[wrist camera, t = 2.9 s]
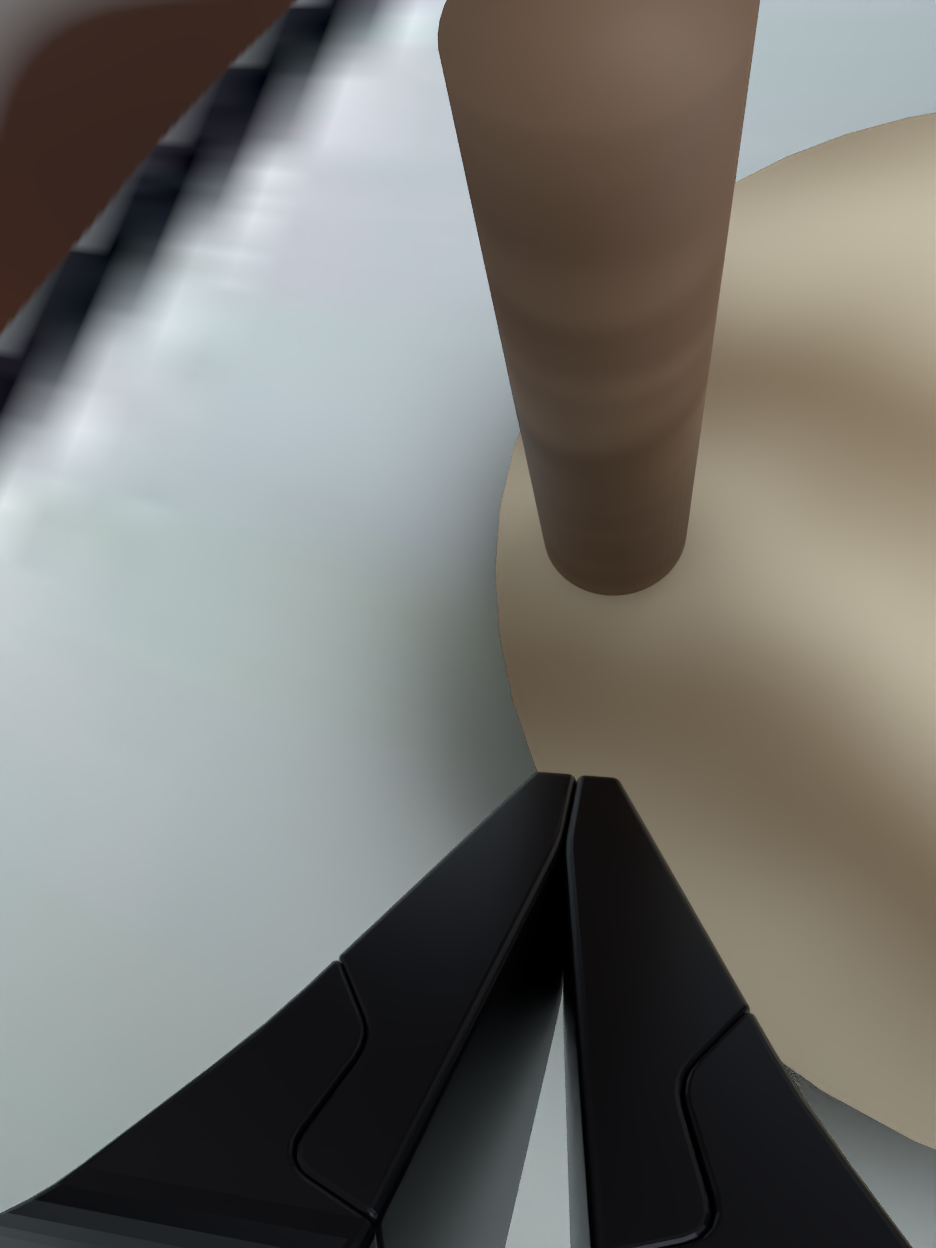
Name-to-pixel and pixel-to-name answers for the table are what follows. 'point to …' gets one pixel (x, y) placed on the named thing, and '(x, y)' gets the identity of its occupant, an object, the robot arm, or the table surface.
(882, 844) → the disc
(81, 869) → the table surface
